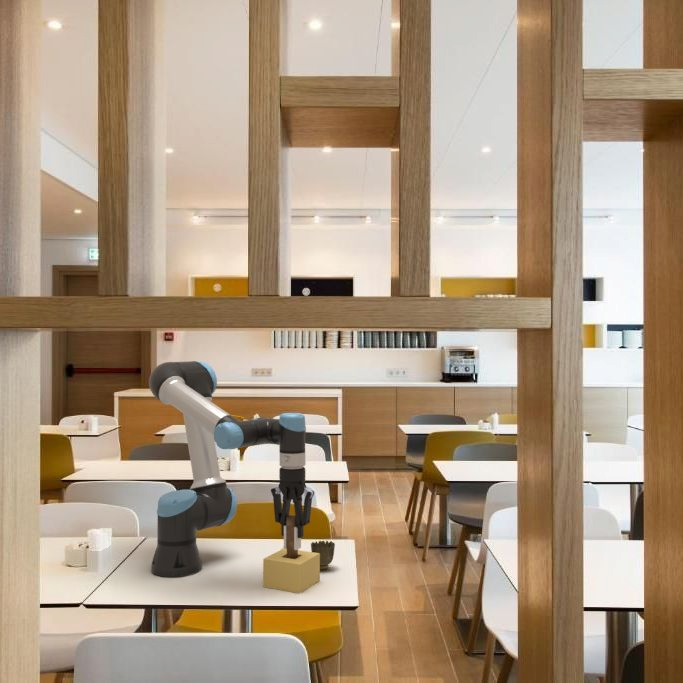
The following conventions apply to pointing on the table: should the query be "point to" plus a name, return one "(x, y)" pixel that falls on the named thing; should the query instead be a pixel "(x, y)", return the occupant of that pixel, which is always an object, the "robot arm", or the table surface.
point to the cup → (324, 552)
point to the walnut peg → (291, 537)
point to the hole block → (291, 571)
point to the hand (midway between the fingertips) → (292, 548)
